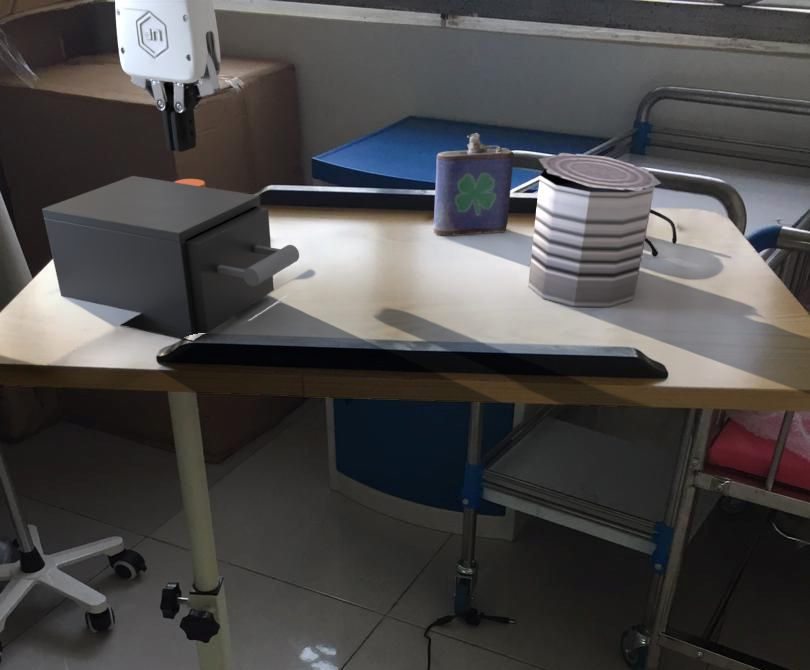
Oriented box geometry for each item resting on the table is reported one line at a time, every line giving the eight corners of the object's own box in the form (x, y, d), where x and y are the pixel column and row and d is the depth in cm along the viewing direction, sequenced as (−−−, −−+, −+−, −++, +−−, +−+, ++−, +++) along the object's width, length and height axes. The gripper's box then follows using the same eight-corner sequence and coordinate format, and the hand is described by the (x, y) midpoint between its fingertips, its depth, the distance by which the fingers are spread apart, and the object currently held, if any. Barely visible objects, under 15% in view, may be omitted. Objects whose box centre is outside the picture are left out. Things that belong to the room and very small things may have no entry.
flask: (436, 237, 104) (440, 139, 98) (429, 229, 106) (433, 133, 100) (510, 232, 106) (519, 136, 100) (501, 225, 108) (510, 130, 102)
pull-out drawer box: (313, 298, 86) (309, 215, 81) (249, 341, 77) (241, 252, 73) (160, 268, 91) (149, 189, 87) (86, 305, 83) (69, 220, 78)
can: (558, 260, 98) (573, 145, 91) (655, 284, 93) (679, 163, 86) (506, 290, 91) (518, 166, 84) (608, 317, 85) (630, 188, 78)
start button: (194, 204, 100) (192, 188, 99) (168, 200, 101) (166, 184, 100) (212, 196, 103) (211, 181, 102) (187, 192, 104) (185, 177, 103)
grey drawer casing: (267, 295, 88) (260, 195, 83) (193, 341, 79) (179, 233, 73) (147, 271, 93) (132, 175, 87) (64, 312, 84) (41, 208, 78)
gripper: (74, -52, 88) (105, 147, 98) (201, -44, 83) (219, 164, 93) (123, -53, 93) (148, 135, 104) (245, -46, 88) (257, 150, 99)
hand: (182, 148), depth 99 cm, fingers closed
